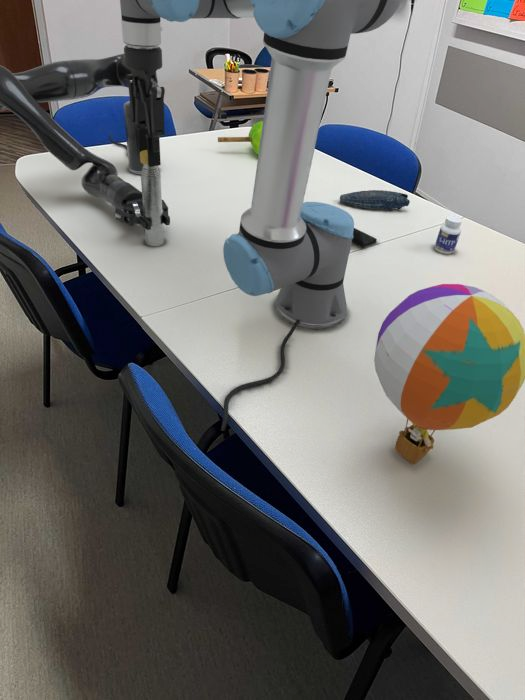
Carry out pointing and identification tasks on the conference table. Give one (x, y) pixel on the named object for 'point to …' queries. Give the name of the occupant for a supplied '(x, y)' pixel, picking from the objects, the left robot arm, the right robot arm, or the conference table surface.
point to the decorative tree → (253, 137)
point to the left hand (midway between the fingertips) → (158, 223)
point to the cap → (144, 157)
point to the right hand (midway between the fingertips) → (149, 161)
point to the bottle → (152, 204)
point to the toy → (448, 362)
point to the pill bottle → (448, 235)
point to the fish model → (376, 199)
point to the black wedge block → (362, 238)
